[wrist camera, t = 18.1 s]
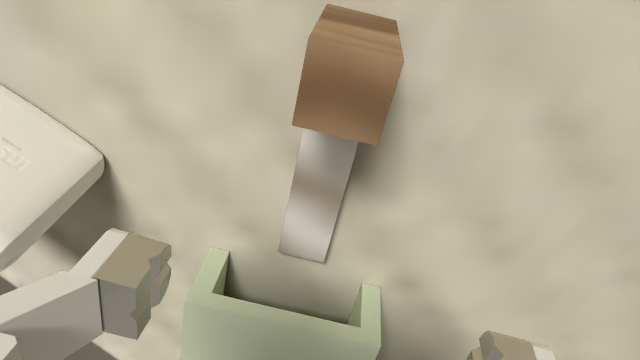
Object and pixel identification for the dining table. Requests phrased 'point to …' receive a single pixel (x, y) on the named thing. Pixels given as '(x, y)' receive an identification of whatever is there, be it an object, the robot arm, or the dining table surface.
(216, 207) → the dining table surface
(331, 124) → the wooden handled metal tool
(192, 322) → the stand
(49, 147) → the photo printer
